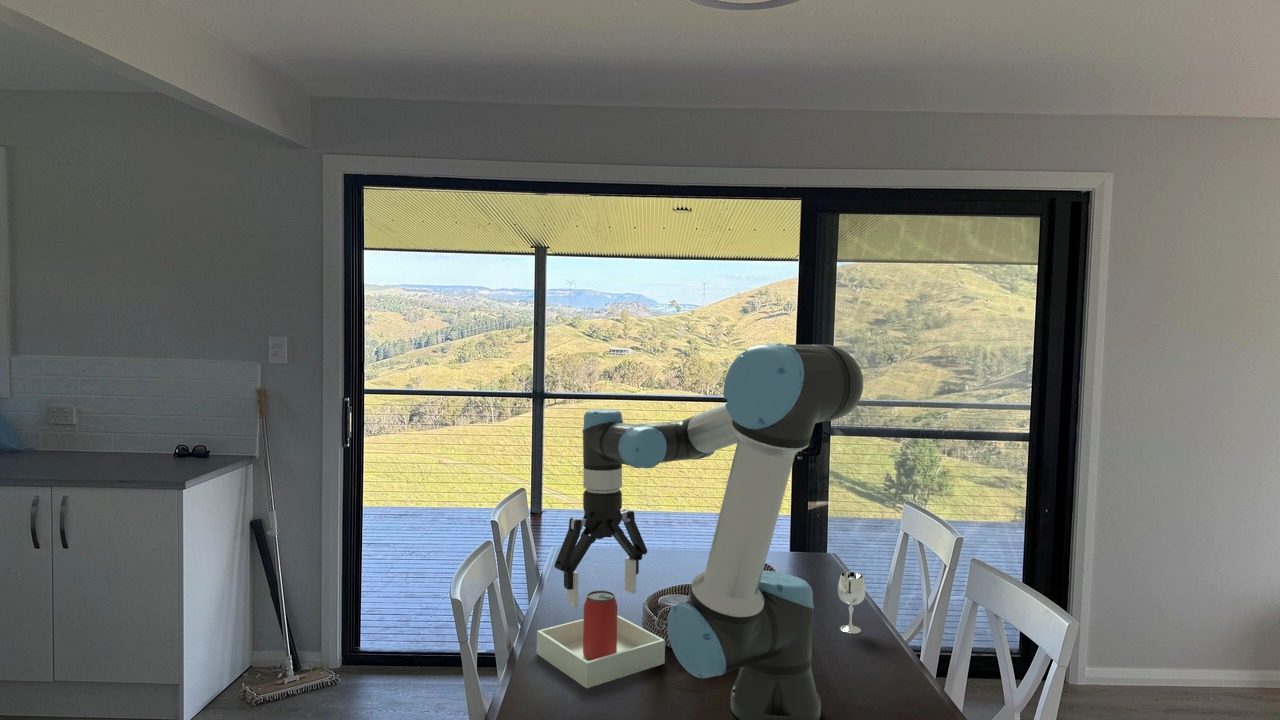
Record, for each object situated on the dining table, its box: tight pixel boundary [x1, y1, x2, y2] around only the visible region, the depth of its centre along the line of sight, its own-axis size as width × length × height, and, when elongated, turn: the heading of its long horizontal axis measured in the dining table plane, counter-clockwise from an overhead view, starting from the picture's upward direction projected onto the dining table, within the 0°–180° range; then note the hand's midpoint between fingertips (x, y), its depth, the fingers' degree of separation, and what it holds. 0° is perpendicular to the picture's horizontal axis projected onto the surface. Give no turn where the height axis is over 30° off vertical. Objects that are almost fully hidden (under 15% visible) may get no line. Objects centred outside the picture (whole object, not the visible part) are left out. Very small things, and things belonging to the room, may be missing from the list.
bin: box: [536, 614, 666, 689], centre depth 151 cm, size 18×18×5 cm
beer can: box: [583, 590, 618, 660], centre depth 151 cm, size 7×7×12 cm
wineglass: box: [837, 571, 866, 635], centre depth 168 cm, size 6×6×12 cm
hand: (602, 598), depth 150 cm, fingers open, 13 cm apart
